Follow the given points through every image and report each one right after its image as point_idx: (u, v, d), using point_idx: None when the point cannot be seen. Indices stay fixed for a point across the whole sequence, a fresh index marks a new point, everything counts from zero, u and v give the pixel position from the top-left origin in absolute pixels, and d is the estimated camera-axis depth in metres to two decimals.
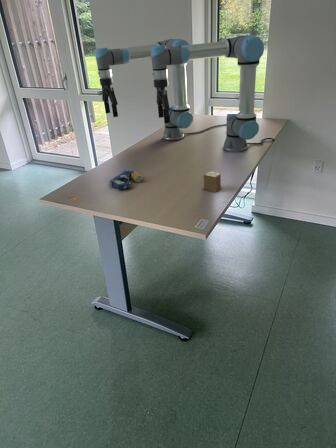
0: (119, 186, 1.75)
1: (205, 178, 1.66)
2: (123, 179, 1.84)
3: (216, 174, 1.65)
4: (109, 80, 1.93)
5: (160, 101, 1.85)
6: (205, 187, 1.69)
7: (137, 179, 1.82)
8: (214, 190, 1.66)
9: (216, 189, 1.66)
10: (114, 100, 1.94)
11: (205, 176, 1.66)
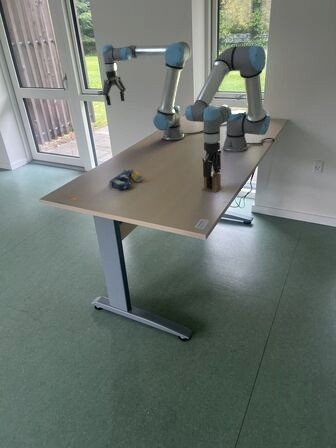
0: (119, 186, 1.75)
1: (205, 178, 1.66)
2: (123, 179, 1.84)
3: (216, 174, 1.65)
4: (108, 73, 2.25)
5: (214, 166, 1.66)
6: (205, 187, 1.69)
7: (137, 179, 1.82)
8: (214, 190, 1.66)
9: (216, 189, 1.66)
10: (104, 91, 2.27)
11: None
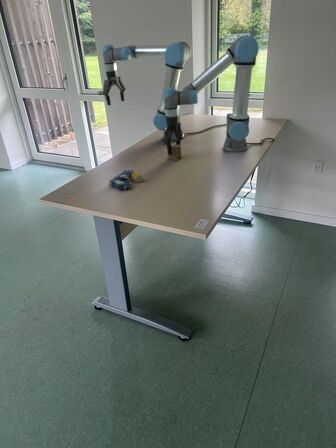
0: (119, 186, 1.75)
1: None
2: (123, 179, 1.84)
3: (177, 145, 2.07)
4: (108, 73, 2.25)
5: (177, 136, 2.08)
6: (169, 156, 2.11)
7: (137, 179, 1.82)
8: (175, 158, 2.09)
9: (177, 158, 2.09)
10: (104, 91, 2.27)
11: None
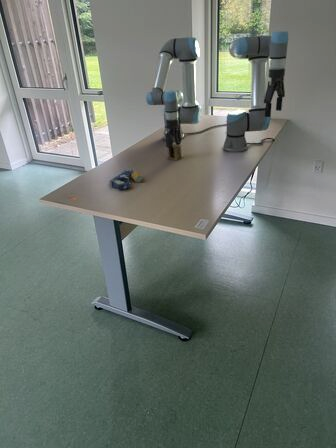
0: (119, 186, 1.75)
1: (168, 149, 2.09)
2: (123, 179, 1.84)
3: (177, 145, 2.07)
4: (169, 122, 1.97)
5: (279, 93, 1.70)
6: (169, 156, 2.11)
7: (137, 179, 1.82)
8: (175, 158, 2.09)
9: (177, 158, 2.09)
10: (167, 143, 2.02)
11: None
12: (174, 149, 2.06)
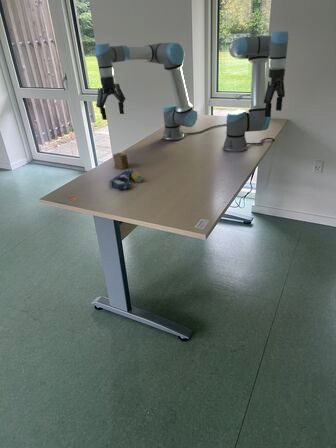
0: (119, 186, 1.75)
1: (114, 158, 2.02)
2: (123, 179, 1.84)
3: (122, 154, 2.01)
4: (103, 80, 1.77)
5: (279, 93, 1.70)
6: (115, 165, 2.05)
7: (137, 179, 1.82)
8: (121, 167, 2.02)
9: (123, 167, 2.02)
10: (98, 102, 1.79)
11: (114, 156, 2.02)
12: (119, 158, 2.00)
